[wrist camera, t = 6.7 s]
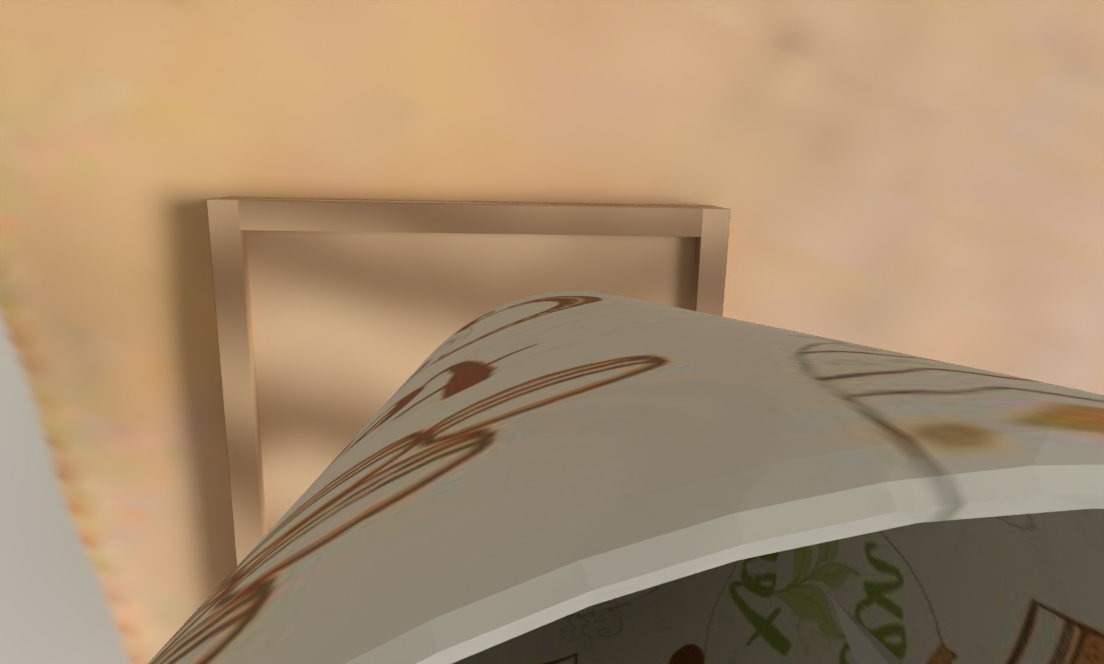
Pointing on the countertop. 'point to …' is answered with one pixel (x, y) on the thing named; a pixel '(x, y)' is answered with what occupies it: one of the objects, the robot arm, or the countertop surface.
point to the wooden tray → (402, 307)
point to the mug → (681, 507)
